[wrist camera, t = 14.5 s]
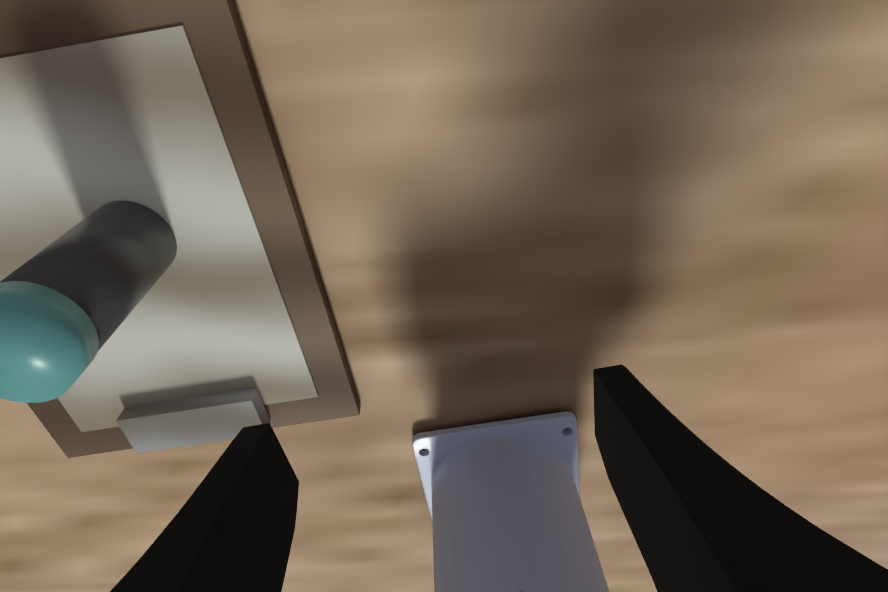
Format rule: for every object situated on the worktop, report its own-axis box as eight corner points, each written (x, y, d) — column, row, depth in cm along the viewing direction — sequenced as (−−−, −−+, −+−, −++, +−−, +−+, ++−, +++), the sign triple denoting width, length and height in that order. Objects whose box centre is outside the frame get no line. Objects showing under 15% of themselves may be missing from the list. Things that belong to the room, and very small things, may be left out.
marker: (191, 269, 20) (97, 394, 14) (112, 281, 20) (-14, 410, 15) (156, 192, 19) (35, 297, 13) (71, 206, 19) (-89, 315, 13)
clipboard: (360, 406, 25) (357, 429, 24) (74, 448, 26) (57, 473, 24) (219, -41, 16) (202, -43, 15) (-222, 40, 16) (-276, 46, 15)
